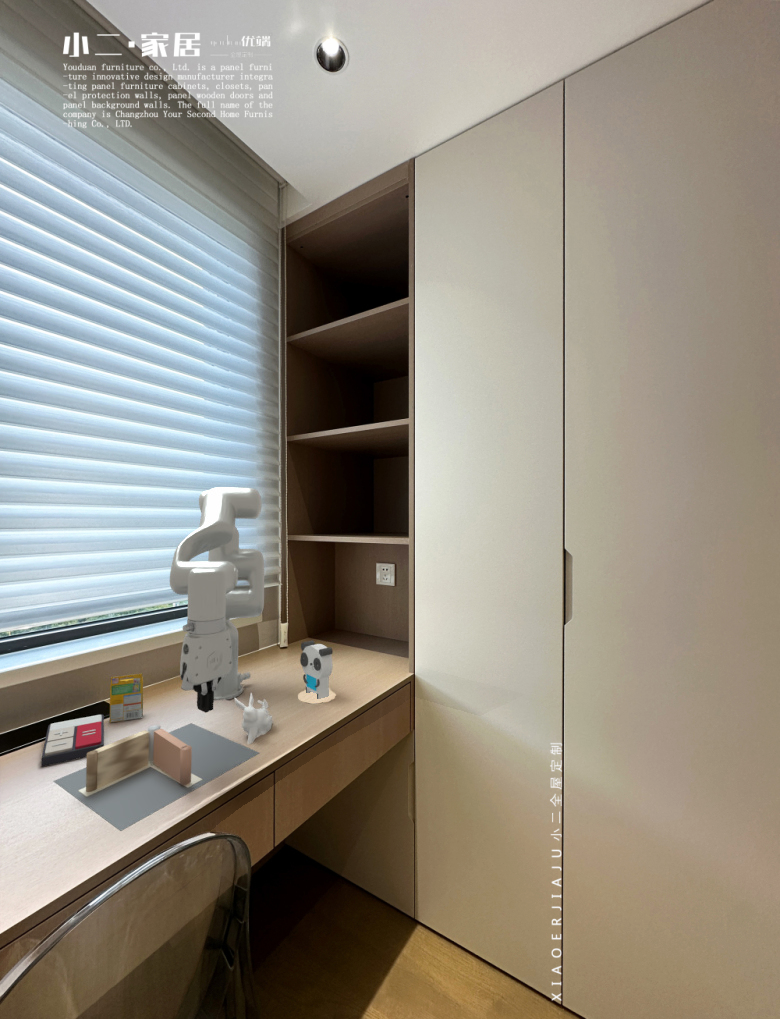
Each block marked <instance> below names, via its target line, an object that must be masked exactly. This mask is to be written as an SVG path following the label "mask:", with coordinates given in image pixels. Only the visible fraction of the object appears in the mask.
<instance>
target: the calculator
mask: <svg viewBox="0 0 780 1019" xmlns="http://www.w3.org/2000/svg"><path fill="white" fill-rule="evenodd" d="M104 719H105V716H104V714H96V715H91V716H86V717H79V718H75V719H69V720H64V721H58V722H54V723H50V724H49V725H47V726H48V727H47V730H46V735H45V740H44V745H43V749H42V754H41V765H40V766H41V767H47V766H53V765H57V764H61V763H67V762H70V761H71V762H72V761H75V760H79V759H83V758H84V759H85V758H87V753H88V752H90V751H94V750H96V749H98V748H101V747H103V746H105V731H104V730H105V720H104Z"/></svg>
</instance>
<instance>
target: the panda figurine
mask: <svg viewBox="0 0 780 1019" xmlns="http://www.w3.org/2000/svg"><path fill="white" fill-rule="evenodd" d="M300 649H301V651H302V652H301V654H300V659H299V662H300V664H301V667H302V670H303V673H304V674H303V676H302V678H303V681H304V683H305V689H306V693H310V692H313V693H316V694H317V699H321V698H325V697H328V696H329V689H330V687H329V686H330V685H329V684H330V679H329V678H330V676H331V674H332V672H333V656H332V655H333V652H334V651H333V648H332V647H330V646H329V647H327V646H326V645H324V644H322V643H315V641H314V640H309V641H308V640H307V641H303V642H301V644H300Z"/></svg>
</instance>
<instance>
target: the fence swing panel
mask: <svg viewBox="0 0 780 1019" xmlns="http://www.w3.org/2000/svg"><path fill="white" fill-rule="evenodd" d="M161 727H162V726H161V725H159V724H153V725H150V726H149V727H147V731H148V732H149V758H148V761H149V762H153V763H154V764H156V765H157V766H158V767H160V768H161V769H162V770H164V771H165V772H166V773H168V774H169V775H170V776H172V777H173V778H174V779H176V780H177V781H178V782H180V784H181V785H187V784H189V783H190V782H191V762H192V747H191V746H188V745H187V744H185V743H184V742H182V741H180V740H179V739H177V738H176V737H174V736H173V735H171V734H169V732H168V731H166V730H164V729H163V728H161Z"/></svg>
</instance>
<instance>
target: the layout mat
mask: <svg viewBox="0 0 780 1019" xmlns="http://www.w3.org/2000/svg"><path fill="white" fill-rule="evenodd" d="M168 733H169V734H171V735H173V736H174V737H176V738H177V739H179V740H180V741H182V742H184V743H185V744H187V745H188V746H191V747H192V762H191V782H190V783H189V784H187V785H181V784H180V782H178V781H177V780H176V779H174V778H173V777H172V776H170V775H169V774H168V773H166V772H165V771H164V770H162V769H161V768H160V767H158V766H157V765H156V764H154V763H153V762H149V761H148V765H147V766H145V767H143V768H141V769H139V770H137V771H135V772H132V773H130V774H128V775H126V776H124V777H122V778H120V779H117V780H115V781H113V782H111V783H109V784H107V785H104V786H102V787H100V788H98V789H96V790H94V791H92V792H86V767H84V768H81V769H79V770H77V771H74V772H72V773H70V774H67V775H65V776H62V777H60V778H57V779H55V780H53V782H54V784H56V785H58V786H59V787H60V788H62V789H63V790H64V791H66V792H67V793H68V794H70V795H71V796H73V797H74V798H75V799H77V801H79V802H81V803H82V804H84V806H86V807H87V808H89V809H91V810H92V811H93V812H94V813H96V814H97V815H99V816H100V817H101V818H102V819H104V820H105V821H106V822H108V823H109V824H110V825H112V826H113V827H115V829H117V830H118V831H120V832H122V831H124V830H125V829H127V828H129V827H131V826H132V825H134V824H136V823H138V822H140V821H141V820H143V819H145V818H147V817H149V816H151V815H152V814H154V813H155V812H157V811H160V810H161V809H163V808H165V807H166V806H168V805H170V804H172V803H173V802H175V801H177V800H179V799H180V798H183V797H184V796H186V795H188V794H190V793H191V792H192V793H193V791H195V790H197V789H199V788H201V787H202V786H203V785H206V784H207V783H209V782H211V781H213V780H215V779H216V778H218V777H220V776H222V775H223V774H225V773H227V772H229V771H231V770H232V769H234V768H236V767H238V766H239V765H241V764H243V763H245V762H247V761H248V760H251V759H252V758H254V757H256V756H257V755H260V752H259V751H258V750H257V751H256V750H254V749H252V748H250V747H249V746H248V747H247V746H245V745H243V744H241V743H238V742H235V741H234V740H231V739H229V738H227V737H224V736H222V735H220V734H218V733H215V732H213V731H211V730H209V729H206V728H204V727H202V726H200V725H197V724H194V723H193V722H192V723H191V722H190V723H188V724H186V725H183V726H181V727H179V728H177V729H174V730H171V731H169V732H168Z"/></svg>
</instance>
